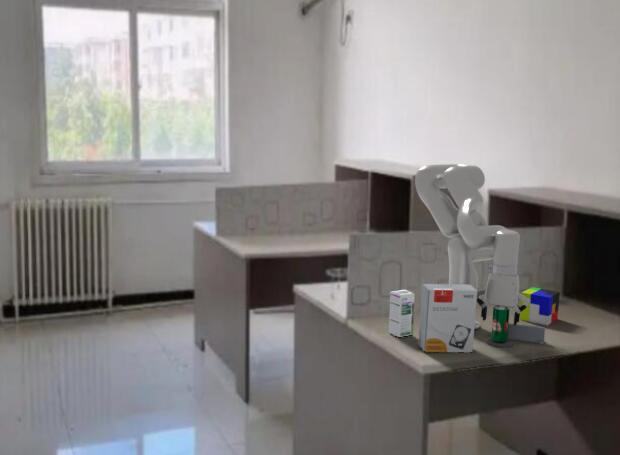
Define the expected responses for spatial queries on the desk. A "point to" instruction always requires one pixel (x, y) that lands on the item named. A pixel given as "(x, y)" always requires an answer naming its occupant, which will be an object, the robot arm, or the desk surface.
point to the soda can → (500, 324)
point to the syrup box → (401, 312)
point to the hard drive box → (447, 317)
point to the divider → (526, 333)
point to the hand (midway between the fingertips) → (499, 321)
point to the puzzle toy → (540, 306)
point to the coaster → (506, 344)
